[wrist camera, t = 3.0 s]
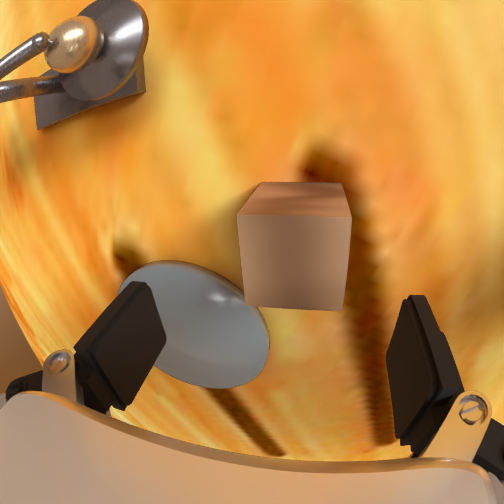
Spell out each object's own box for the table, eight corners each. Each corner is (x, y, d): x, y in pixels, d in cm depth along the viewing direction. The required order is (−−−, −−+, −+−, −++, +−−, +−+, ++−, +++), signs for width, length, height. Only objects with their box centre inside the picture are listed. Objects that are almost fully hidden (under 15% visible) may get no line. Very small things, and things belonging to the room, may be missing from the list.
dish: (266, 265, 20) (263, 274, 19) (271, 388, 27) (269, 397, 26) (104, 255, 24) (96, 262, 23) (147, 365, 31) (143, 372, 30)
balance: (192, 8, 13) (41, -59, 2) (197, 87, 15) (20, 87, 4) (21, 88, 17) (-82, 117, 6) (26, 142, 20) (-76, 186, 9)
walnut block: (341, 183, 17) (351, 217, 11) (337, 255, 19) (341, 311, 14) (261, 181, 18) (236, 214, 13) (265, 252, 20) (245, 305, 15)
